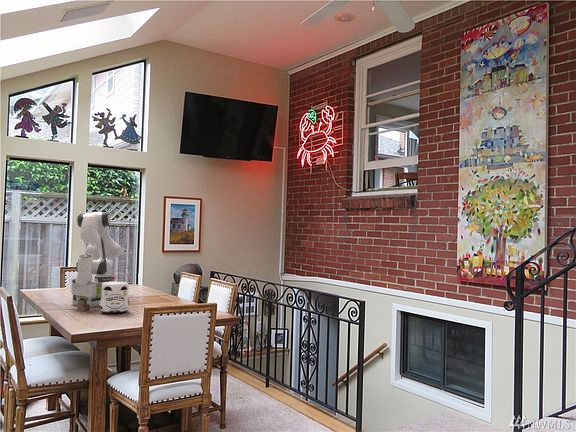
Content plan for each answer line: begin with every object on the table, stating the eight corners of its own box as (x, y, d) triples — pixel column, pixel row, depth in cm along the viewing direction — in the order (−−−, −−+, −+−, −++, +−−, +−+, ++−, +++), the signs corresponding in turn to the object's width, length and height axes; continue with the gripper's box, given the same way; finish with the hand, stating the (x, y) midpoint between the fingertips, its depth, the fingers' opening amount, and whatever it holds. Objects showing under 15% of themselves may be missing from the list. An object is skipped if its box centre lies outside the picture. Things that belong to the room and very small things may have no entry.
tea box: (101, 305, 326) (102, 282, 326) (90, 307, 316) (91, 284, 317) (83, 303, 331) (83, 281, 331) (72, 305, 321) (72, 282, 321)
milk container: (111, 316, 290) (113, 285, 291) (93, 312, 300) (94, 283, 300) (135, 312, 305) (136, 283, 305) (116, 308, 314) (117, 280, 314)
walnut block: (84, 309, 310) (84, 299, 310) (89, 310, 307) (90, 300, 308) (77, 310, 306) (77, 300, 306) (82, 311, 303) (83, 301, 303)
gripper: (99, 281, 304) (98, 304, 304) (78, 279, 315) (77, 300, 314) (90, 282, 299) (89, 305, 298) (69, 279, 309) (68, 301, 309)
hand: (83, 303), depth 306 cm, fingers open, 8 cm apart
